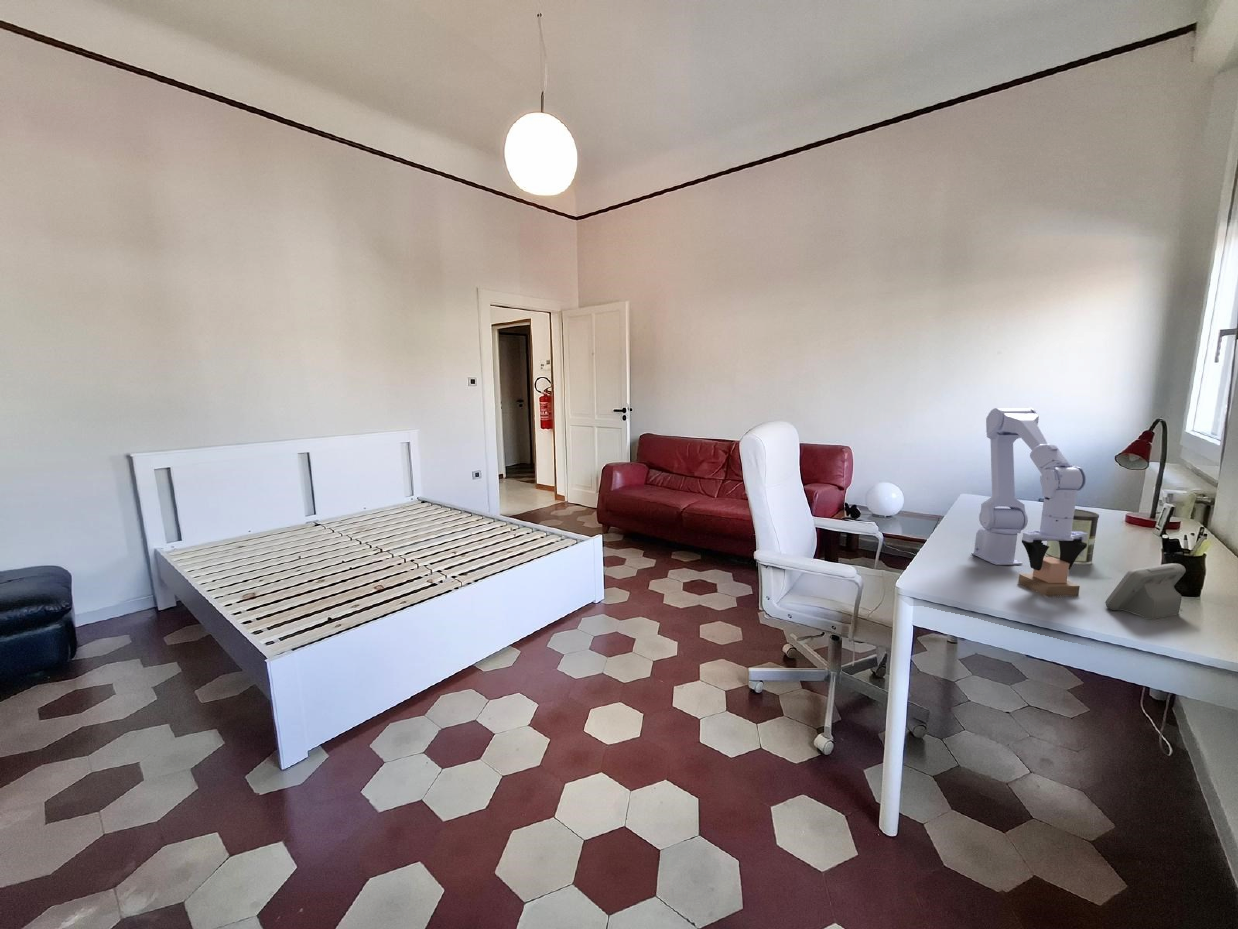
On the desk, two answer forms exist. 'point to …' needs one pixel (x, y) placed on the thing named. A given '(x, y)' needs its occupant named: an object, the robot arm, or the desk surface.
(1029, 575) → the walnut slab
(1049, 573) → the terracotta block
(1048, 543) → the coffee can
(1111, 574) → the desk surface
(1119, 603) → the digital clock
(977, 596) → the desk surface
